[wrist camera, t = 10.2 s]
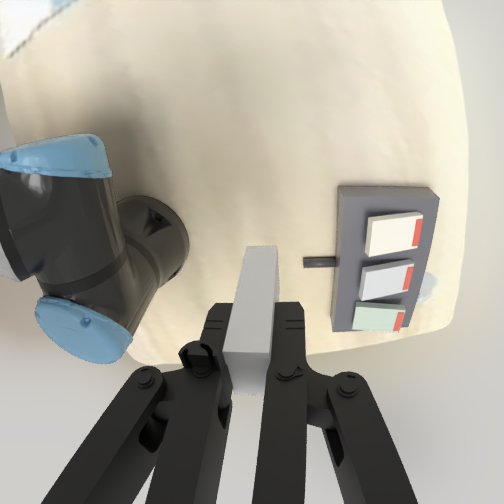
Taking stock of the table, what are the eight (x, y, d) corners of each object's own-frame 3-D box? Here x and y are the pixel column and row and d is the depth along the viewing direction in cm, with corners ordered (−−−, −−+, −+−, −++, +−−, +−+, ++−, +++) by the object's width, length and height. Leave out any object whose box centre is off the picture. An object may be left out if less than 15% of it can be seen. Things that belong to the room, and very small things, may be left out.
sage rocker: (352, 324, 46) (352, 330, 45) (356, 301, 44) (356, 307, 43) (398, 327, 44) (398, 333, 43) (404, 305, 41) (405, 311, 40)
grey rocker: (358, 295, 41) (362, 301, 40) (362, 267, 39) (366, 273, 37) (403, 286, 41) (408, 291, 40) (410, 258, 39) (414, 264, 38)
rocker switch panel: (302, 316, 52) (303, 336, 48) (301, 186, 40) (303, 199, 36) (402, 311, 49) (409, 329, 45) (428, 187, 37) (441, 199, 33)
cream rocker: (364, 252, 37) (369, 257, 36) (368, 217, 35) (373, 222, 33) (412, 243, 38) (417, 248, 36) (418, 211, 35) (423, 215, 34)
